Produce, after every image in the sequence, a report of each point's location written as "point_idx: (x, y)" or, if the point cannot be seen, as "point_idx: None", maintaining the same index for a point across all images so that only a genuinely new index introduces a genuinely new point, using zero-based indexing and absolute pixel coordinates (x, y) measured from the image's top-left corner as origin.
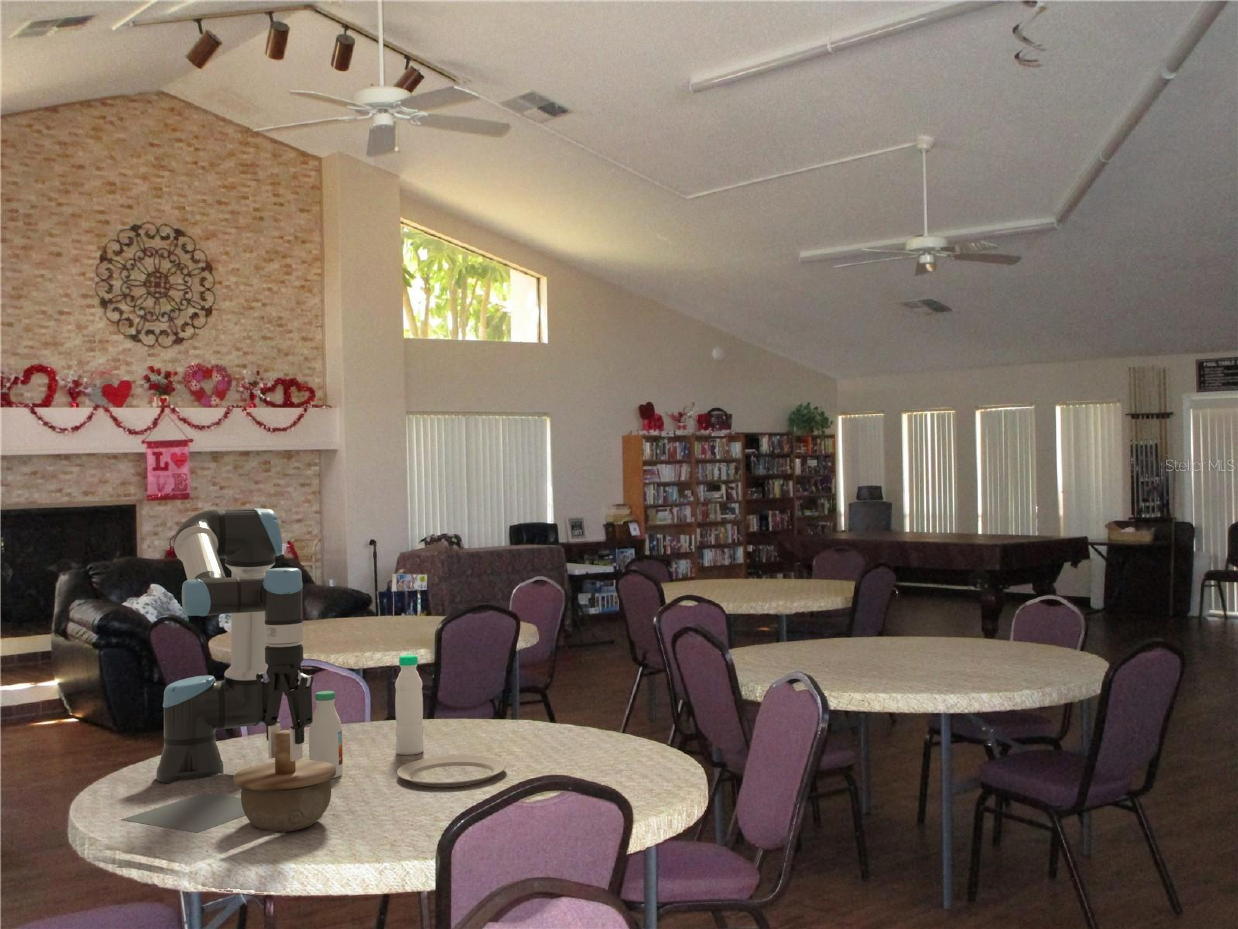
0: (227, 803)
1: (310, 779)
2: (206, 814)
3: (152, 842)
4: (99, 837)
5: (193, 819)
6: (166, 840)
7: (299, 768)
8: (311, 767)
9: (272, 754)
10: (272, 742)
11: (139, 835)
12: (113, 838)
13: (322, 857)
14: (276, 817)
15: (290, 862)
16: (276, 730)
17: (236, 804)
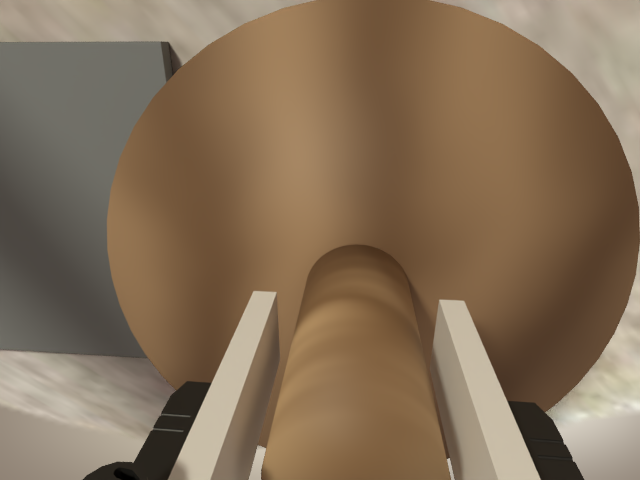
0: (8, 123)
1: (582, 356)
2: (74, 241)
3: (149, 400)
4: (18, 408)
5: (91, 288)
6: (163, 383)
7: (376, 209)
8: (432, 166)
9: (274, 367)
10: (257, 428)
11: (74, 377)
12: (49, 405)
13: (637, 366)
14: None
15: (569, 410)
16: (232, 477)
17: (45, 121)
